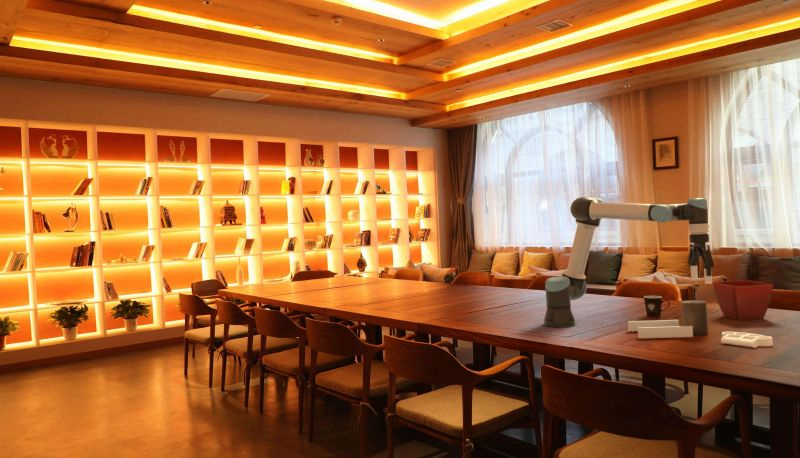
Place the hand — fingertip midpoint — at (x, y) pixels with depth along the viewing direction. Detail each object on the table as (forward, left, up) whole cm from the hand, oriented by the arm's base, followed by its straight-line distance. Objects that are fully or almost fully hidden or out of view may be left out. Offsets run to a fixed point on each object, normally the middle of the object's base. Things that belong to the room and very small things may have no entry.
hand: (701, 282), depth 242 cm
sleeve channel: (-19, 0, -22) cm, 29 cm away
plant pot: (+32, +32, -23) cm, 51 cm away
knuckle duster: (+7, -21, -23) cm, 32 cm away
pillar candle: (-3, 0, -23) cm, 23 cm away
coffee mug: (-6, +41, -23) cm, 47 cm away
